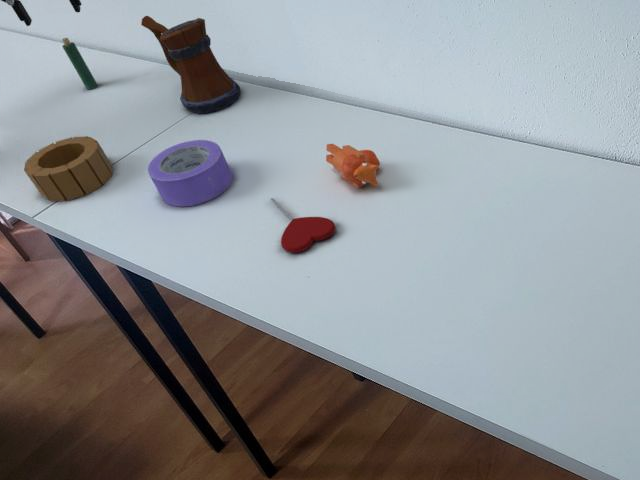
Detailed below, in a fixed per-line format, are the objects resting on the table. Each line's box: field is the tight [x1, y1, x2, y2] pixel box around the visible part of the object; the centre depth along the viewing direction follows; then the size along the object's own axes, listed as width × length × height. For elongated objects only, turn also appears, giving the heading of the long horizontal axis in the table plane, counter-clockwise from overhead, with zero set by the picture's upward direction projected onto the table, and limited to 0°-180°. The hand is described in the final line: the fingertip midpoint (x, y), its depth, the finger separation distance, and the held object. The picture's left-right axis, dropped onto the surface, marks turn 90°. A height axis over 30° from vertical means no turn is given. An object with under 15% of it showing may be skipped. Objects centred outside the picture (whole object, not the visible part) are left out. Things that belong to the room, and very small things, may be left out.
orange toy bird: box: [325, 143, 381, 188], centre depth 99 cm, size 5×8×12 cm
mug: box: [141, 15, 241, 115], centre depth 122 cm, size 18×12×15 cm, turn 53°
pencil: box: [61, 37, 99, 90], centre depth 135 cm, size 2×2×10 cm
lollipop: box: [270, 197, 336, 254], centre depth 94 cm, size 8×1×15 cm
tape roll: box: [147, 139, 233, 208], centre depth 103 cm, size 12×12×5 cm
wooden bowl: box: [23, 136, 114, 202], centre depth 109 cm, size 12×12×5 cm
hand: (54, 16), depth 128 cm, fingers open, 9 cm apart
